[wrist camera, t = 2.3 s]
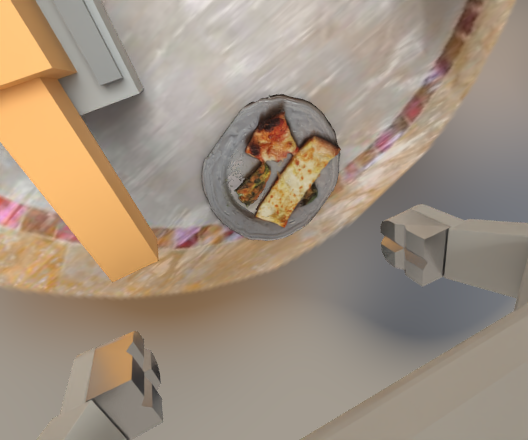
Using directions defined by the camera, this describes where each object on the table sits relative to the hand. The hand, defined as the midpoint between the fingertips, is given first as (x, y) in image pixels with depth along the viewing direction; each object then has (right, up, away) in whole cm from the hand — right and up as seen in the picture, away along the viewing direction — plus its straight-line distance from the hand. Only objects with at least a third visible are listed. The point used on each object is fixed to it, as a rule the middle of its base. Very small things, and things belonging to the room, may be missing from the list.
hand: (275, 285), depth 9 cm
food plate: (+1, +11, +43) cm, 44 cm away
